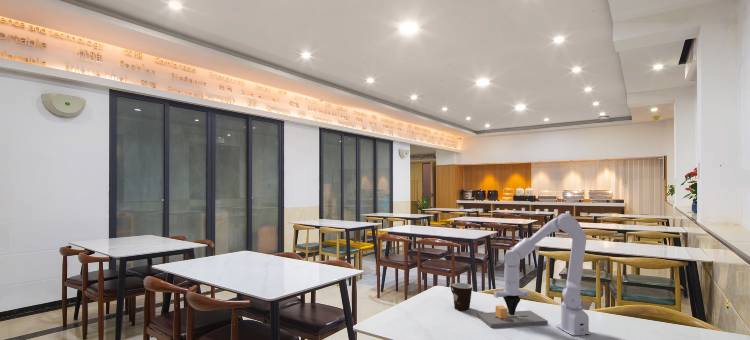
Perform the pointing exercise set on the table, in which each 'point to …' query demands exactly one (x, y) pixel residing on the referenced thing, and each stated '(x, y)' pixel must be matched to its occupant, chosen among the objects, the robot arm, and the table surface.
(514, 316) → the board
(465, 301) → the coffee mug
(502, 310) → the fader knob
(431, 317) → the table surface
